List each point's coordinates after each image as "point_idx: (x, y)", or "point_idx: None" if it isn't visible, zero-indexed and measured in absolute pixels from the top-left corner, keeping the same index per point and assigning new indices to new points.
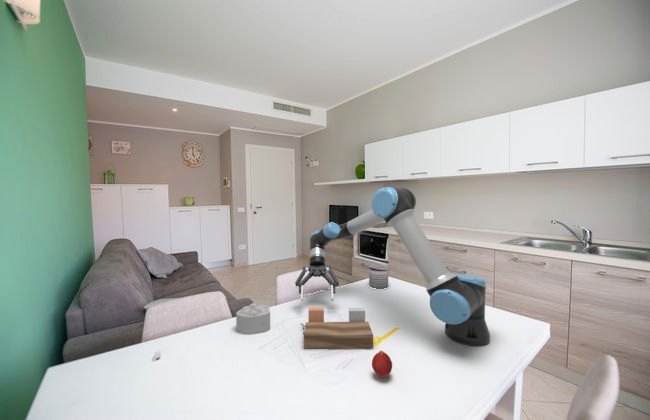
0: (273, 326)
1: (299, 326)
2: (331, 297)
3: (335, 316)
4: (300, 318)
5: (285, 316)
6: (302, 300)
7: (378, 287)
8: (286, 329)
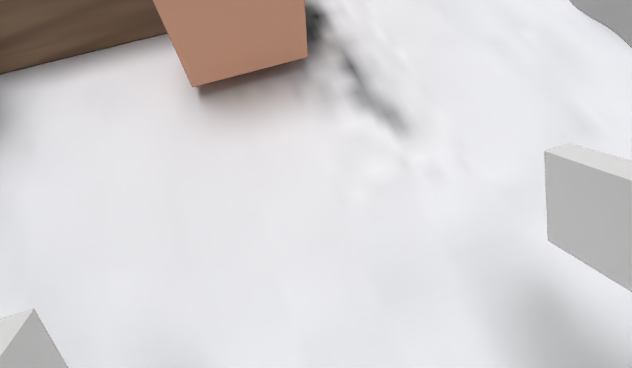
0: (576, 32)
1: (392, 79)
2: (35, 363)
3: (117, 351)
4: (456, 202)
5: None
6: (550, 210)
7: None
8: (460, 23)
